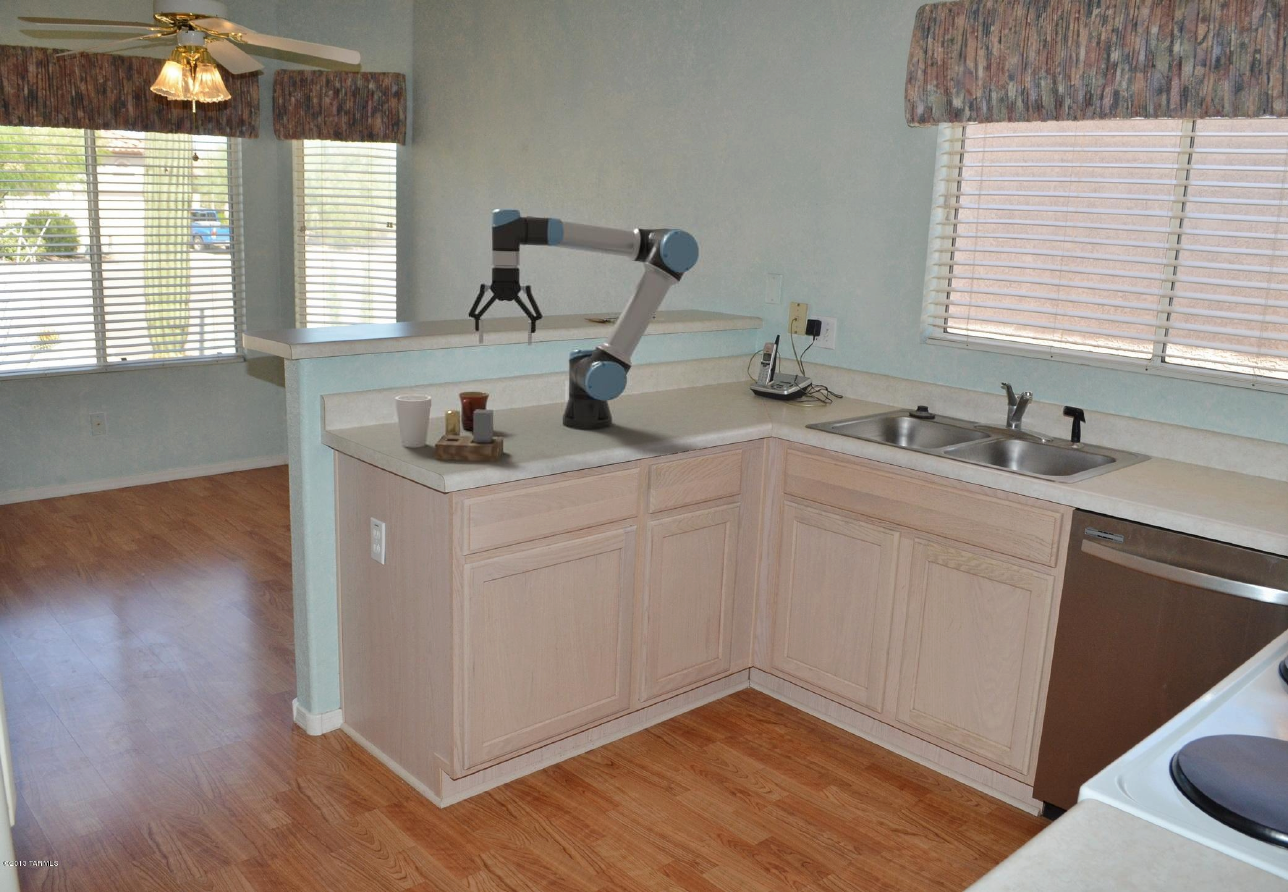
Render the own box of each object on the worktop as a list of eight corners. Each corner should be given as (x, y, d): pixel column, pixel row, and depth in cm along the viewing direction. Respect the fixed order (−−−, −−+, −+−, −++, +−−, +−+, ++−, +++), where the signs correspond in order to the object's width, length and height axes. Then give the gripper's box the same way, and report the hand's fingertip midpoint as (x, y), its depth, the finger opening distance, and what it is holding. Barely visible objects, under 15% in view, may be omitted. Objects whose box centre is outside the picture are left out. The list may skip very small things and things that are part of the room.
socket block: (503, 451, 278) (503, 437, 277) (497, 461, 267) (497, 446, 266) (443, 449, 278) (443, 435, 277) (435, 459, 267) (435, 444, 266)
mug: (465, 424, 310) (465, 390, 308) (493, 426, 308) (493, 392, 306) (450, 432, 299) (449, 397, 296) (478, 434, 297) (478, 399, 295)
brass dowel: (461, 442, 287) (461, 410, 285) (458, 445, 283) (458, 413, 281) (446, 441, 287) (446, 409, 285) (444, 445, 283) (443, 412, 281)
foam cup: (399, 440, 286) (398, 394, 283) (433, 441, 287) (432, 395, 284) (394, 448, 277) (393, 400, 274) (429, 449, 278) (428, 401, 275)
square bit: (493, 454, 274) (493, 410, 272) (490, 458, 270) (490, 413, 267) (476, 453, 274) (476, 409, 272) (473, 457, 270) (473, 412, 267)
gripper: (552, 267, 287) (551, 343, 292) (462, 264, 288) (463, 340, 292) (549, 269, 280) (548, 347, 285) (457, 266, 280) (458, 344, 285)
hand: (505, 344), depth 289 cm, fingers open, 13 cm apart
